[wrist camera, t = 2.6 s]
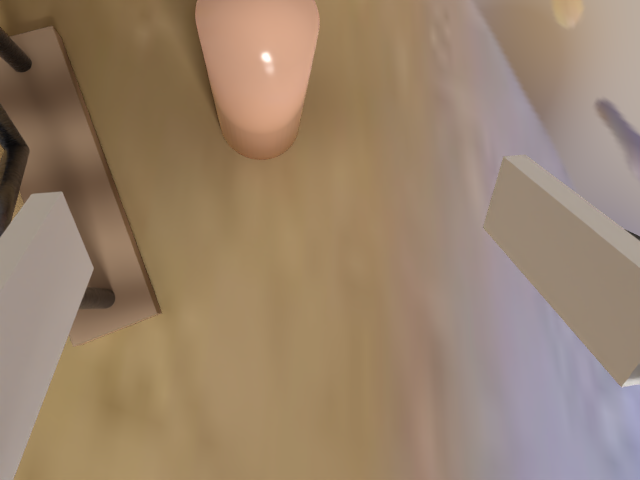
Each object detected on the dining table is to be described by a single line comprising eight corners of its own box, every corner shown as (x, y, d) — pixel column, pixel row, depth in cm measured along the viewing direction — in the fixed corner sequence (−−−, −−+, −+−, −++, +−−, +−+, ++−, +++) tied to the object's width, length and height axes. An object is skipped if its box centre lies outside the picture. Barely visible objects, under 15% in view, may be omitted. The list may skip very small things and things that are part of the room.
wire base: (-18, 57, 28) (-30, 46, 26) (60, 37, 28) (52, 25, 27) (81, 344, 26) (73, 346, 25) (161, 313, 27) (157, 313, 26)
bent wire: (8, 57, 27) (-201, -146, 15) (28, 52, 27) (-162, -153, 15) (98, 311, 25) (-54, 319, 13) (118, 304, 25) (-13, 304, 13)
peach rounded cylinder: (208, 98, 29) (177, -21, 18) (282, 76, 30) (293, -50, 19) (236, 170, 29) (221, 90, 18) (310, 145, 30) (338, 55, 19)
